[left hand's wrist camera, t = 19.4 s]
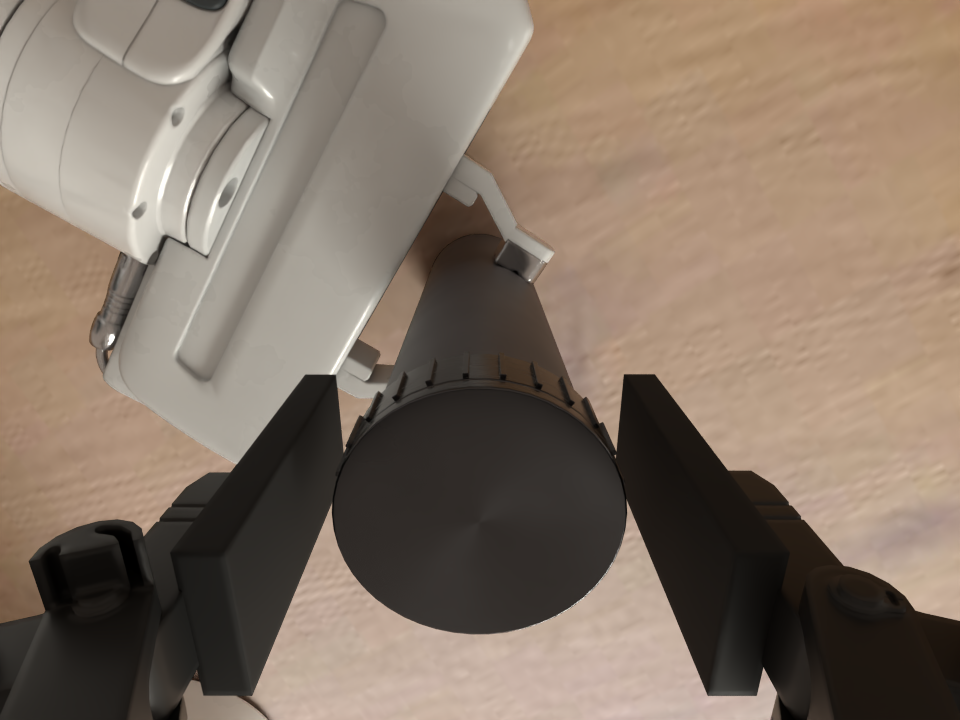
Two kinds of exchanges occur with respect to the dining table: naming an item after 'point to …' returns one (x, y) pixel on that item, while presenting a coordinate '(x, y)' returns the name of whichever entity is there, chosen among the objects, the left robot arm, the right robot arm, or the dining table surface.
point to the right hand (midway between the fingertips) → (499, 332)
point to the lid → (479, 496)
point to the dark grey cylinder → (477, 312)
